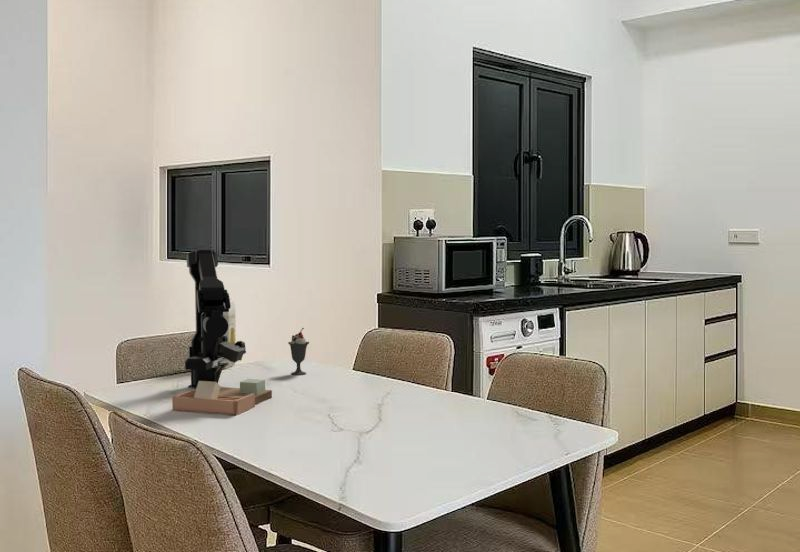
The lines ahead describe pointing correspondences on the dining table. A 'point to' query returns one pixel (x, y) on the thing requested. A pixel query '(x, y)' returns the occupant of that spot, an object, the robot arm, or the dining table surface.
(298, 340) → the sundae
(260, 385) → the sage green square block
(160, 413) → the dining table surface
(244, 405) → the tray
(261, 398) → the board
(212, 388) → the ivory rectangular block
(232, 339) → the juice carton
